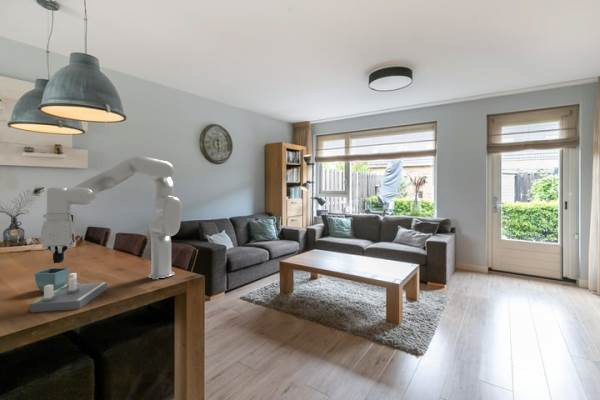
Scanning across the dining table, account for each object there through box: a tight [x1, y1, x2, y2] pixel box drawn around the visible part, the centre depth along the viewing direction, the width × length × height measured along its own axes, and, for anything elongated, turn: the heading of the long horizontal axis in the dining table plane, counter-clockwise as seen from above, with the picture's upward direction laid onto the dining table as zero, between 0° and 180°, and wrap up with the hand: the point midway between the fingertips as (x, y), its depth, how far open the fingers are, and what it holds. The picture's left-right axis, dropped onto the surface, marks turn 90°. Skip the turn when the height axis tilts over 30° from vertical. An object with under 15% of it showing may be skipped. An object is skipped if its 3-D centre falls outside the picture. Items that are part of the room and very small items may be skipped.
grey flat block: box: [29, 281, 108, 313], centre depth 117 cm, size 23×16×3 cm
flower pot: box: [34, 267, 70, 293], centre depth 128 cm, size 9×9×9 cm
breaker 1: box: [41, 284, 56, 301], centre depth 109 cm, size 4×3×5 cm
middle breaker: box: [66, 277, 79, 293], centre depth 117 cm, size 4×3×5 cm
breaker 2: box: [66, 272, 80, 287], centre depth 124 cm, size 4×3×5 cm
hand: (58, 262), depth 116 cm, fingers closed
